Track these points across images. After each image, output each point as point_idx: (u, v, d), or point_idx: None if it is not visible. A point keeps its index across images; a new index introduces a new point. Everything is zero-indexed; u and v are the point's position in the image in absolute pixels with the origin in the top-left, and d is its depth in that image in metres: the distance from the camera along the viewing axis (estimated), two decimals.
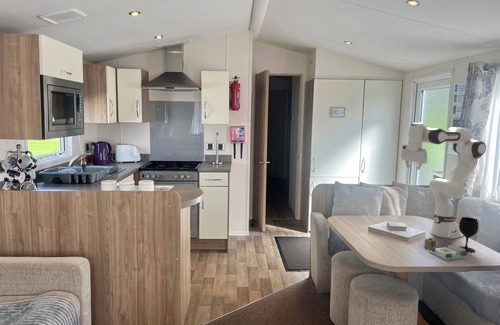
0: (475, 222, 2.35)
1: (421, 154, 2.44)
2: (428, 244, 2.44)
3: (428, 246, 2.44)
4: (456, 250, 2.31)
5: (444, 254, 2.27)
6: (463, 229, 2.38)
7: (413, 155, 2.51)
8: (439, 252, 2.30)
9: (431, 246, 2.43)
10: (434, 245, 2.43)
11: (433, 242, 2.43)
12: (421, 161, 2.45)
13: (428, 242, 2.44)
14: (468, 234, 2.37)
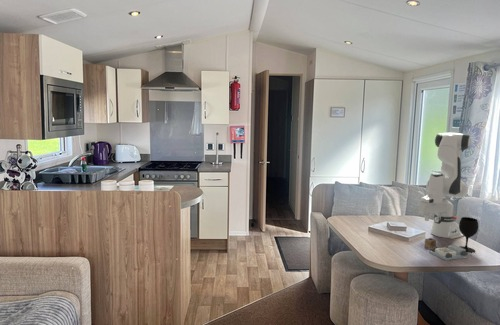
0: (475, 222, 2.35)
1: (447, 204, 2.43)
2: (428, 244, 2.44)
3: (428, 246, 2.44)
4: (456, 250, 2.31)
5: (444, 254, 2.27)
6: (463, 229, 2.38)
7: (437, 207, 2.40)
8: (439, 252, 2.30)
9: (431, 246, 2.43)
10: (434, 245, 2.43)
11: (433, 242, 2.43)
12: (446, 211, 2.43)
13: (428, 242, 2.44)
14: (468, 234, 2.37)
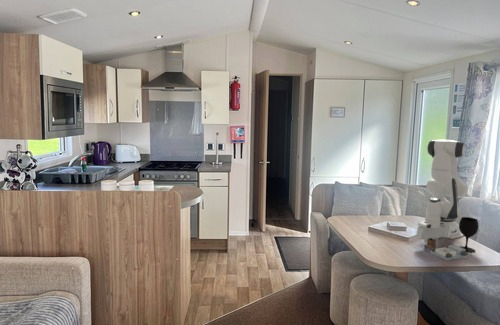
0: (475, 222, 2.35)
1: (444, 229, 2.45)
2: None
3: (428, 246, 2.43)
4: (456, 250, 2.31)
5: (444, 254, 2.27)
6: (463, 229, 2.38)
7: (435, 231, 2.43)
8: (439, 252, 2.30)
9: (431, 246, 2.43)
10: (434, 245, 2.43)
11: (433, 242, 2.43)
12: (444, 235, 2.46)
13: (428, 242, 2.44)
14: (468, 234, 2.37)
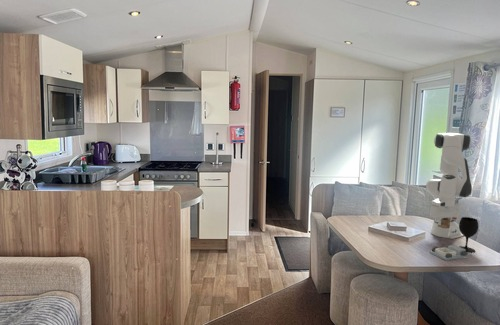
0: (475, 222, 2.35)
1: (459, 208, 2.32)
2: None
3: (442, 226, 2.30)
4: (456, 250, 2.31)
5: (444, 254, 2.27)
6: (463, 229, 2.38)
7: (449, 211, 2.30)
8: (439, 252, 2.30)
9: (445, 226, 2.29)
10: (448, 225, 2.30)
11: (447, 221, 2.30)
12: (458, 215, 2.32)
13: (442, 221, 2.30)
14: (468, 234, 2.37)
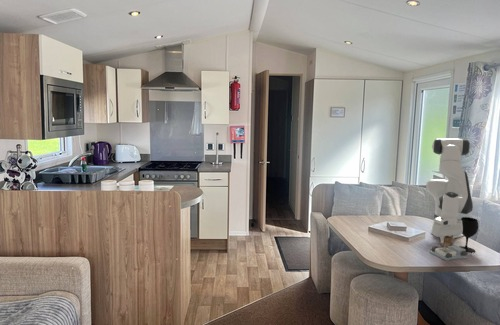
0: (475, 222, 2.35)
1: (461, 225, 2.30)
2: None
3: (444, 244, 2.29)
4: (456, 250, 2.31)
5: (444, 254, 2.27)
6: (463, 229, 2.38)
7: (451, 228, 2.28)
8: (439, 252, 2.30)
9: (448, 244, 2.28)
10: (451, 243, 2.29)
11: (450, 239, 2.28)
12: (461, 232, 2.31)
13: (444, 239, 2.29)
14: (468, 234, 2.37)
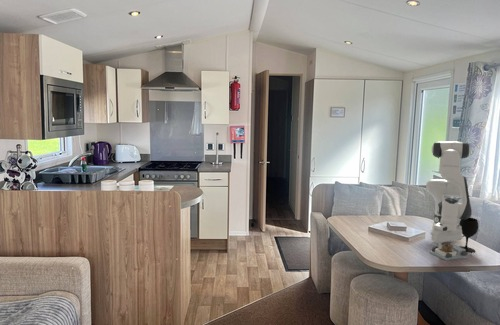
0: (475, 222, 2.35)
1: (461, 231, 2.31)
2: (443, 251, 2.30)
3: None
4: (456, 250, 2.31)
5: (444, 254, 2.27)
6: (463, 229, 2.38)
7: (451, 234, 2.29)
8: (439, 252, 2.30)
9: (447, 252, 2.29)
10: (450, 251, 2.30)
11: (449, 248, 2.29)
12: (460, 238, 2.31)
13: (443, 248, 2.30)
14: (468, 234, 2.37)
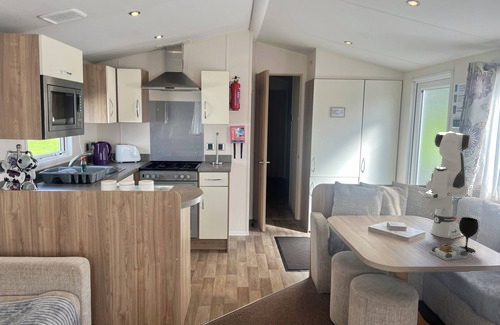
0: (475, 222, 2.35)
1: (451, 199, 2.36)
2: (443, 251, 2.30)
3: None
4: (456, 250, 2.31)
5: (444, 254, 2.27)
6: (463, 229, 2.38)
7: (441, 202, 2.34)
8: (439, 252, 2.30)
9: (447, 252, 2.29)
10: (450, 251, 2.30)
11: (449, 248, 2.29)
12: (450, 205, 2.37)
13: (443, 248, 2.30)
14: (468, 234, 2.37)
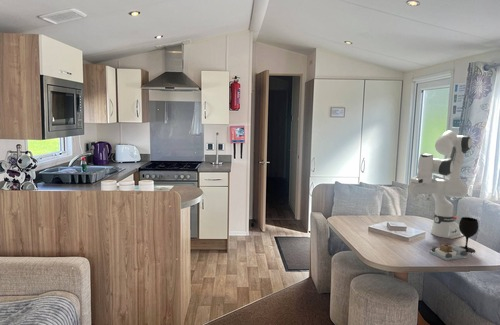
0: (475, 222, 2.35)
1: (436, 185, 2.45)
2: (443, 251, 2.30)
3: None
4: (456, 250, 2.31)
5: (444, 254, 2.27)
6: (463, 229, 2.38)
7: (427, 187, 2.43)
8: (439, 252, 2.30)
9: (447, 252, 2.29)
10: (450, 251, 2.30)
11: (449, 248, 2.29)
12: (436, 191, 2.46)
13: (443, 248, 2.30)
14: (468, 234, 2.37)
